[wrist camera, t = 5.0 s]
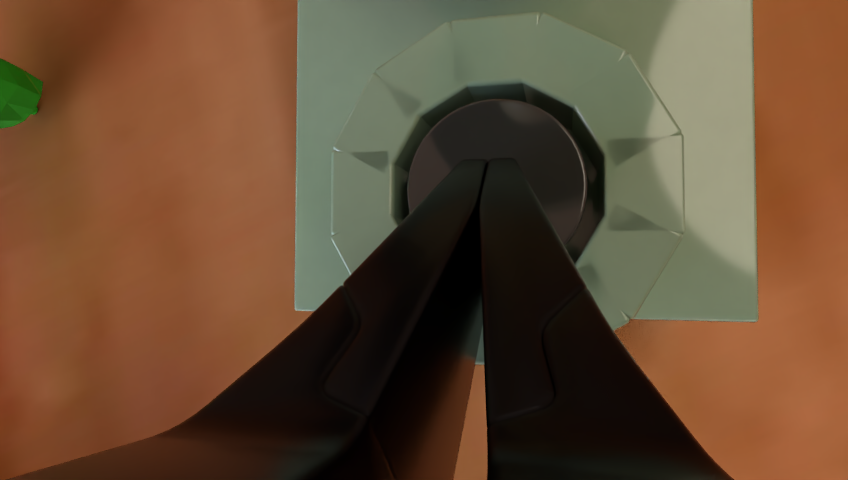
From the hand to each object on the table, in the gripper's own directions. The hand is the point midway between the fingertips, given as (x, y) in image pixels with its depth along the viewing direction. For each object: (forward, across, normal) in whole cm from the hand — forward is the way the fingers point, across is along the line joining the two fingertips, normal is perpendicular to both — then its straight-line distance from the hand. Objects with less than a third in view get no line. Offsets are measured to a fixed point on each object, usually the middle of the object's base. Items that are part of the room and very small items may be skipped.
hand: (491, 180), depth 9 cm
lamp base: (+7, 0, +3) cm, 8 cm away
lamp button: (+1, 0, +2) cm, 2 cm away
